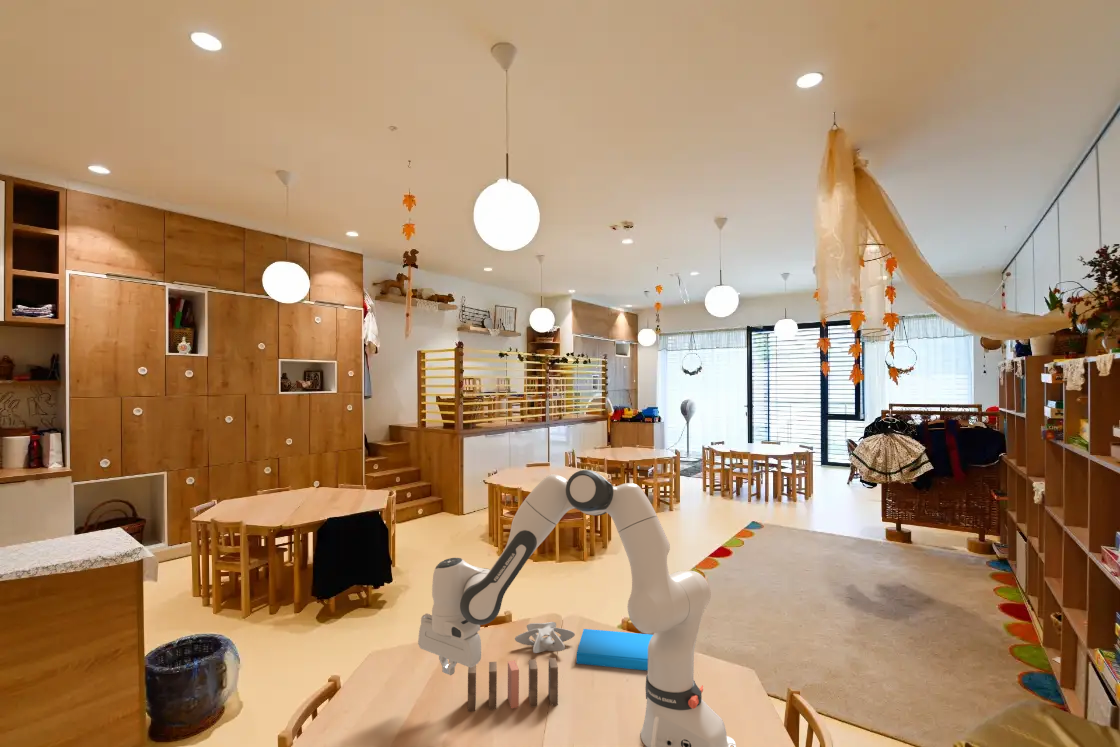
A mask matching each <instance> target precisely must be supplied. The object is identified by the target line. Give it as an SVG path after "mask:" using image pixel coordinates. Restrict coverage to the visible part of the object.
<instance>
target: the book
mask: <svg viewBox="0 0 1120 747" xmlns="http://www.w3.org/2000/svg"><path fill="white" fill-rule="evenodd" d="M652 636H653V634H645V633H635V632H626V631H625V632H624V631H614V630H612V631H611V630H603V629H601V630H600V629H590V628H589V629H588V628H583V630H582V634H581V636H580V637H581V638H580V640H579V644H578V647H577V650H576V661H575V662H576V664H578V665H585V666H586V665H587V666H597V667H606V668H607V667H608V668H617V669H618V668H619V669H628V670H629V669H630V670H639V671H647V672H648V645H649V642H650V640H651V638H652Z"/></svg>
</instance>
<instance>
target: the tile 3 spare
mask: <svg viewBox="0 0 1120 747" xmlns="http://www.w3.org/2000/svg"><path fill="white" fill-rule="evenodd" d="M519 693H520V668H519V666H518V665H517V661H516V660H510V661H509V660H508V661H507V700H508V703H509V705H510V708H511V709H518V708H520V707H519V706H520V701H519V700H520V694H519Z"/></svg>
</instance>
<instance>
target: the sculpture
mask: <svg viewBox="0 0 1120 747" xmlns="http://www.w3.org/2000/svg"><path fill="white" fill-rule="evenodd" d="M526 630H527V631H525V632H522V633H520V634H518V635H517V636H515V638H514V640H515V642H516V643H519V644H521V645H525V646H533V647H532V652H533V653H534V654H537V653H541V652H546V651H549V652H551V651H552V652H553V651H554V652H561V651H564V650H565V649H566V646H565V644H564V642H566V641H568V640H571V639H572V638H574V637H575V636H576V634H575V632H574V631H572V630H570V629H565V628H561V627H560V628H559V627H557V623H556V622H554V621H550V622H542V623H540V622H533V623H532V622H531V623H529V624H527V625H526ZM559 634H560V636H559ZM531 637H532V638H533V639H534V641H533V640H532V639H530V638H531Z"/></svg>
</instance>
